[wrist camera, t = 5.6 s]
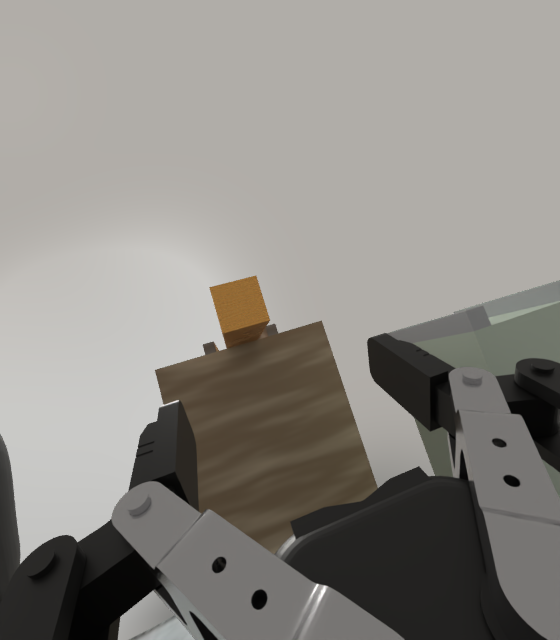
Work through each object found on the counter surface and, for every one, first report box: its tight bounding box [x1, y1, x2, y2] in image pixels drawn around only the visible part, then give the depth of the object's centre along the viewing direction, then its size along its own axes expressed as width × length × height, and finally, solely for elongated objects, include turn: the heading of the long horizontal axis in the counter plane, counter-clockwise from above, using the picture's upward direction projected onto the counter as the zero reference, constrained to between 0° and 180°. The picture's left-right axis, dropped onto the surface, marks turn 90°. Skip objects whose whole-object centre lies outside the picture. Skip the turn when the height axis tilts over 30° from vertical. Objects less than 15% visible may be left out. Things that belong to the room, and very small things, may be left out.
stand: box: [155, 321, 378, 554], centre depth 33 cm, size 14×16×33 cm
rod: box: [210, 276, 270, 349], centre depth 31 cm, size 24×3×3 cm, turn 8°
